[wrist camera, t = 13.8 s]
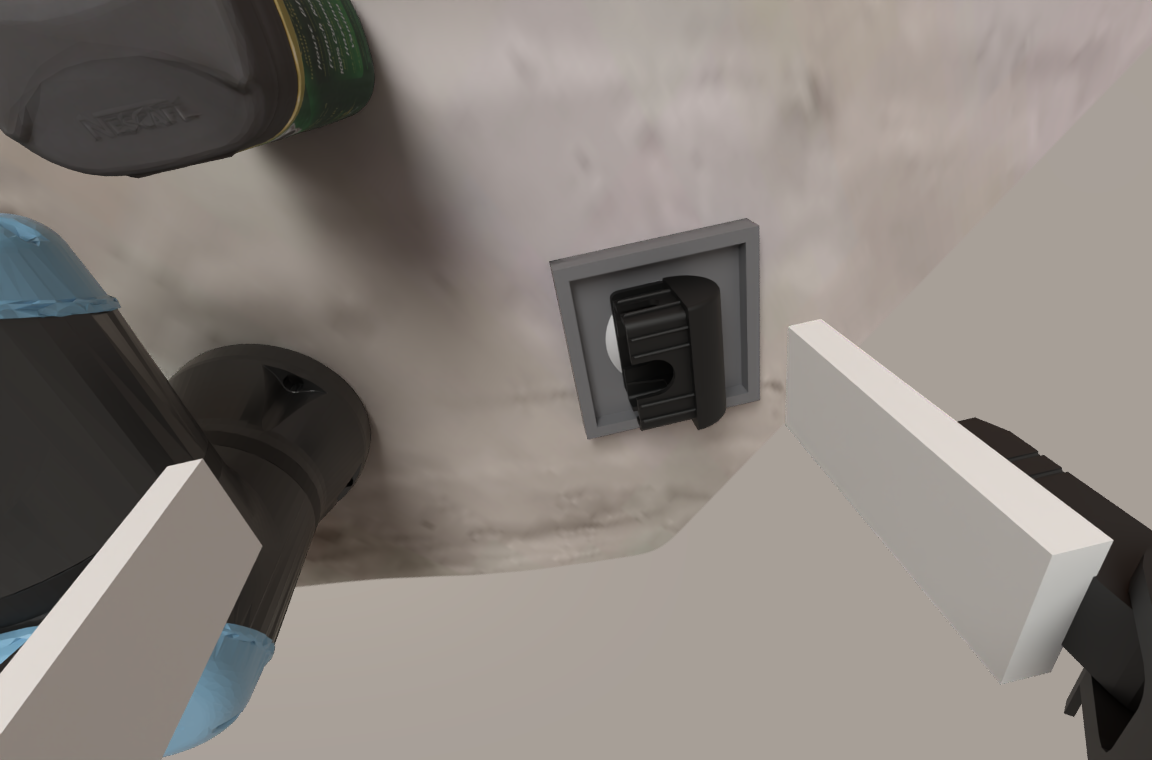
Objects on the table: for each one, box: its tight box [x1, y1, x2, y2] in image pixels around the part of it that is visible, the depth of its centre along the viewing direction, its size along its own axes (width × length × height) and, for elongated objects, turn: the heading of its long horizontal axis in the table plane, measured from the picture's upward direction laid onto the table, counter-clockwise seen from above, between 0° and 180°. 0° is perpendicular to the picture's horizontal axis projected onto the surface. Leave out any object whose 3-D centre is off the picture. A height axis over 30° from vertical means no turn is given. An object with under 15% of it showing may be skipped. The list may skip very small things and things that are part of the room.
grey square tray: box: [549, 218, 760, 439], centre depth 43 cm, size 15×15×2 cm
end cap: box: [610, 275, 726, 431], centre depth 40 cm, size 10×7×7 cm
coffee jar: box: [0, 0, 375, 178], centre depth 24 cm, size 10×8×19 cm
